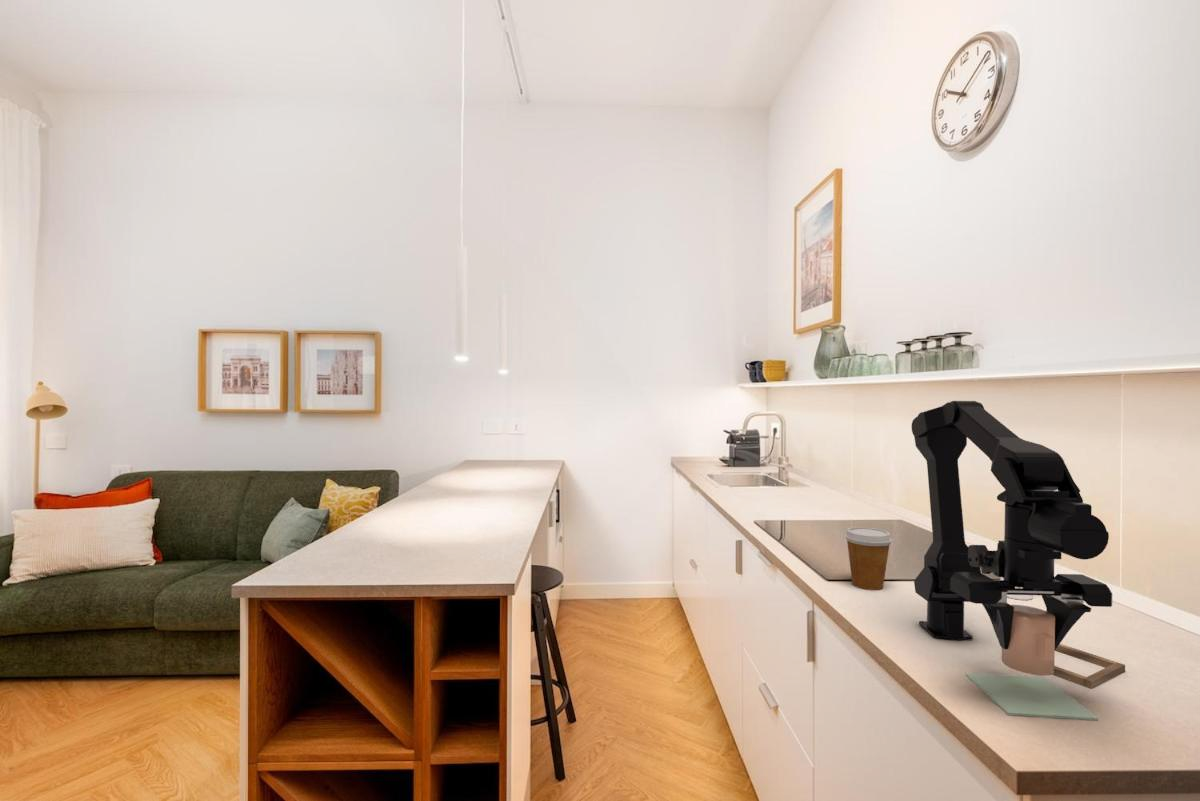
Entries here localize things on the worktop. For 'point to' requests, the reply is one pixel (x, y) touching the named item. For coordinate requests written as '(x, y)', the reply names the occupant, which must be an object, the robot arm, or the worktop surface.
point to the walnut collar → (1100, 676)
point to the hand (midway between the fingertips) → (1027, 648)
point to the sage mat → (1029, 696)
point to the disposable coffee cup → (868, 556)
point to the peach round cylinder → (1031, 641)
